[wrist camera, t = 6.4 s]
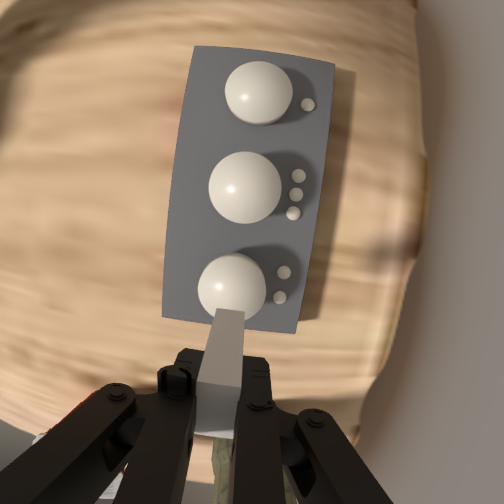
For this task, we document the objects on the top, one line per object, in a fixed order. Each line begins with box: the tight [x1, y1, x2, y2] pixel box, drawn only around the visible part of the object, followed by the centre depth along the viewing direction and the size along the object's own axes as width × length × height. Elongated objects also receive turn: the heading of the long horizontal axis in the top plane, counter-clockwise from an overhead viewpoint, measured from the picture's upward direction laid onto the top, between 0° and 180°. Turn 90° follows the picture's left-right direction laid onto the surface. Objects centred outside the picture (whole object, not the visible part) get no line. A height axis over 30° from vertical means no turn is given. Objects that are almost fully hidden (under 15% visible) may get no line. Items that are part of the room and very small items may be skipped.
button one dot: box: [225, 61, 293, 126], centre depth 22 cm, size 5×5×4 cm
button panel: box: [162, 46, 335, 334], centre depth 25 cm, size 12×24×3 cm, turn 172°
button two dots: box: [198, 253, 266, 320], centre depth 24 cm, size 5×5×4 cm
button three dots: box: [209, 152, 282, 224], centre depth 22 cm, size 5×5×4 cm
